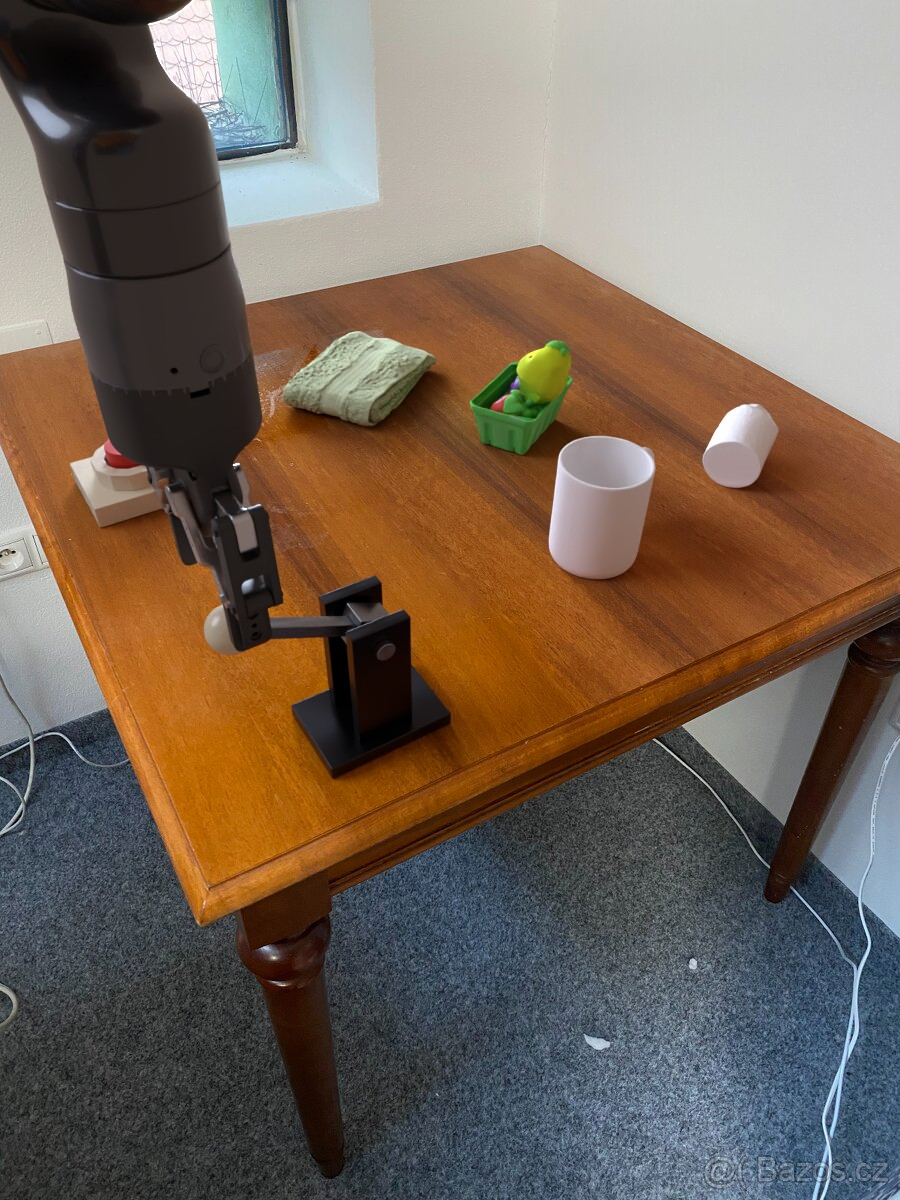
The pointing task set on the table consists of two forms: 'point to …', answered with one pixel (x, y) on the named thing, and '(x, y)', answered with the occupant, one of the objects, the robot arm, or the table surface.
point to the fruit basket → (524, 398)
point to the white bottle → (740, 446)
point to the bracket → (367, 688)
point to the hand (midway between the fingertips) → (224, 599)
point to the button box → (114, 489)
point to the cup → (600, 505)
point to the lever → (295, 625)
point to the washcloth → (358, 378)
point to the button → (117, 458)
